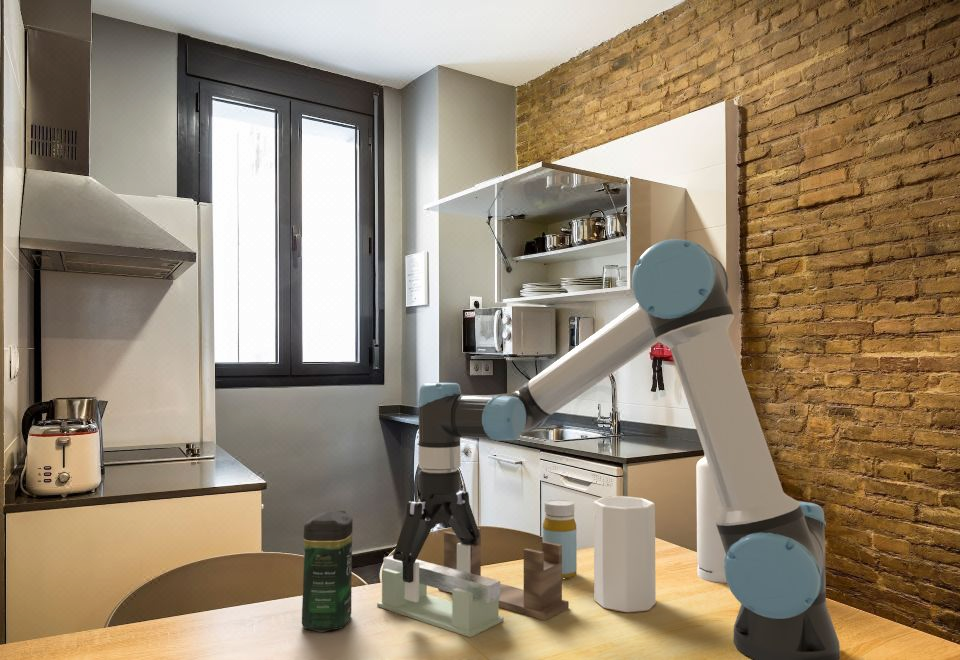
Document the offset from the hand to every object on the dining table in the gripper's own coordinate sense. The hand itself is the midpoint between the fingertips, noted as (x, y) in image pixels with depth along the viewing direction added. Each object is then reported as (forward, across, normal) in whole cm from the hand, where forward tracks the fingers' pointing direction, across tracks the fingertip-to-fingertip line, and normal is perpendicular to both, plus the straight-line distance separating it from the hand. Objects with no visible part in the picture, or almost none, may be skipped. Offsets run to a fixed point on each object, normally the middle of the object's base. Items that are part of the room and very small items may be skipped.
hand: (438, 589), depth 122 cm
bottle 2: (+4, -52, +31) cm, 61 cm away
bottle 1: (+4, -32, +5) cm, 33 cm away
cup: (+4, -26, +23) cm, 35 cm away
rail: (-1, 0, 0) cm, 1 cm away
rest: (+4, 0, 0) cm, 4 cm away
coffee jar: (+4, +15, -12) cm, 20 cm away
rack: (+4, -13, +4) cm, 14 cm away
